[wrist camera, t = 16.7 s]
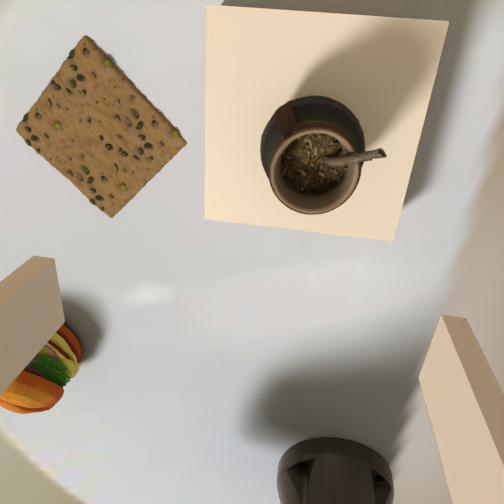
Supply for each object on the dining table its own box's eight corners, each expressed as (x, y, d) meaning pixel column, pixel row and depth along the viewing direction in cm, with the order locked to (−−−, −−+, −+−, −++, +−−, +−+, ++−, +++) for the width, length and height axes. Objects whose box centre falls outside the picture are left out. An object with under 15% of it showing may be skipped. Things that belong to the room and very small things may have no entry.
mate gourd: (243, 130, 32) (222, 173, 23) (326, 62, 29) (337, 82, 20) (299, 201, 34) (299, 263, 26) (381, 144, 31) (412, 192, 23)
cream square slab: (385, 217, 39) (393, 241, 35) (217, 197, 41) (204, 218, 36) (432, 21, 31) (449, 20, 27) (221, 6, 33) (206, 4, 29)
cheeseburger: (88, 316, 50) (43, 394, 43) (97, 363, 57) (60, 436, 50) (6, 296, 50) (-53, 370, 43) (25, 345, 57) (-22, 415, 50)
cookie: (114, 219, 43) (109, 223, 43) (16, 129, 40) (9, 131, 39) (191, 142, 38) (188, 145, 37) (86, 31, 35) (80, 32, 34)
